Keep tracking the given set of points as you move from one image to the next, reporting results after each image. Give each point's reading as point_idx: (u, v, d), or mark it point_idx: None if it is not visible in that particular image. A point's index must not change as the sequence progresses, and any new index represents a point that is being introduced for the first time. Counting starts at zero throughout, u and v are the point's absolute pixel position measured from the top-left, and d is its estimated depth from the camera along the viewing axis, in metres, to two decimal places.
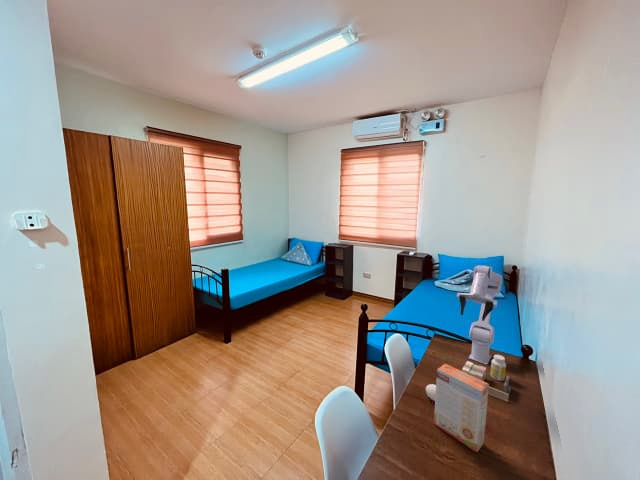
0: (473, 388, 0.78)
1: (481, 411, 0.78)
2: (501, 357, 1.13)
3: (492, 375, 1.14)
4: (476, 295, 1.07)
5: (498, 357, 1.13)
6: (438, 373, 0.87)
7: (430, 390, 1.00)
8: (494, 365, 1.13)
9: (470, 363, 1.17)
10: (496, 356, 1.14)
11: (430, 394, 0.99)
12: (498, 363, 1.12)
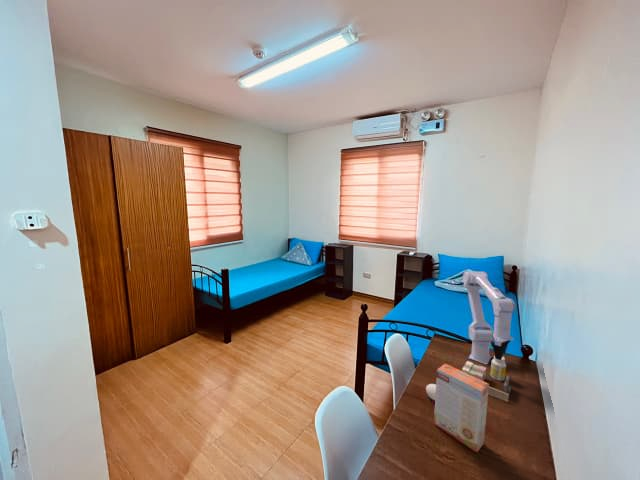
0: (473, 388, 0.78)
1: (481, 411, 0.78)
2: None
3: (492, 375, 1.14)
4: None
5: None
6: (438, 373, 0.87)
7: (430, 390, 1.00)
8: (494, 365, 1.13)
9: (470, 363, 1.17)
10: None
11: (430, 394, 1.00)
12: (498, 363, 1.12)
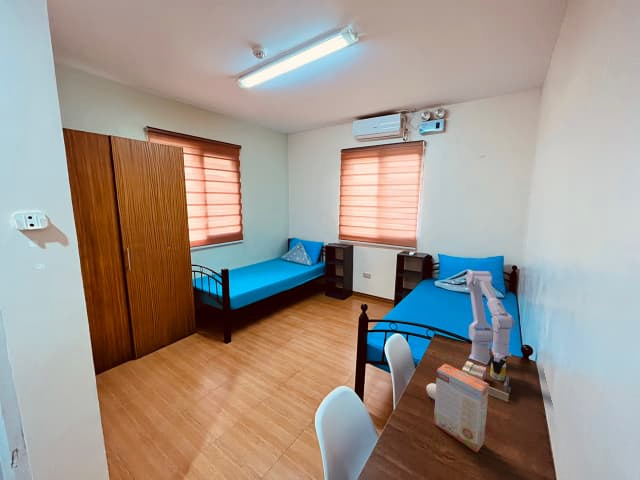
0: (473, 388, 0.78)
1: (481, 411, 0.78)
2: None
3: (492, 375, 1.14)
4: None
5: None
6: (438, 373, 0.87)
7: (430, 389, 1.00)
8: None
9: (470, 363, 1.17)
10: None
11: (431, 393, 1.00)
12: None
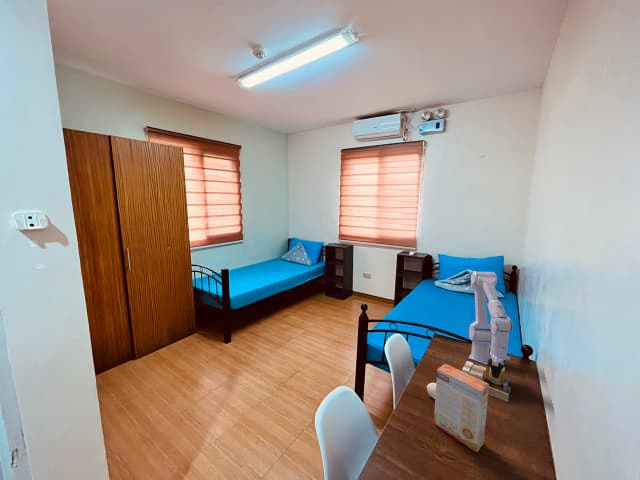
0: (473, 388, 0.78)
1: (481, 411, 0.78)
2: None
3: (491, 379, 1.11)
4: None
5: None
6: (438, 373, 0.87)
7: (431, 389, 1.01)
8: None
9: (470, 363, 1.17)
10: None
11: (431, 392, 1.00)
12: None
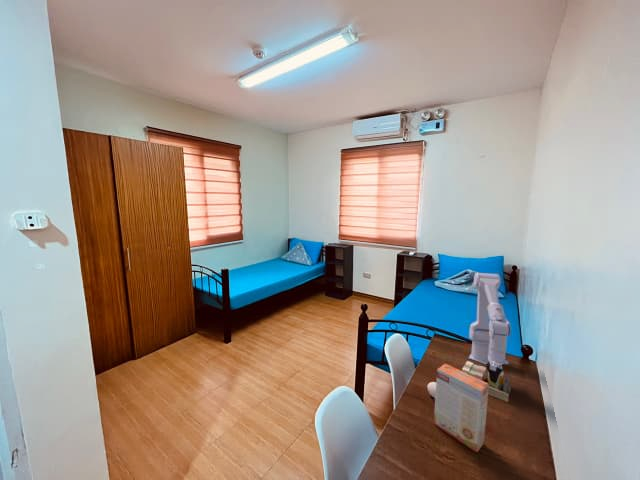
0: (473, 388, 0.78)
1: (481, 411, 0.78)
2: None
3: (489, 384, 1.08)
4: None
5: None
6: (438, 373, 0.87)
7: (431, 388, 1.01)
8: None
9: (470, 363, 1.17)
10: None
11: (432, 392, 1.01)
12: None
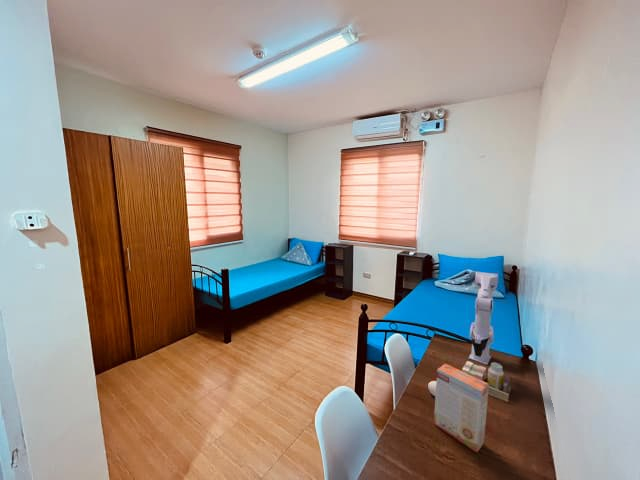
0: (473, 388, 0.78)
1: (481, 411, 0.78)
2: (498, 365, 1.08)
3: (489, 384, 1.08)
4: None
5: (495, 365, 1.07)
6: (438, 373, 0.87)
7: (432, 387, 1.02)
8: (491, 374, 1.07)
9: (470, 363, 1.17)
10: (493, 364, 1.08)
11: (432, 390, 1.01)
12: (496, 372, 1.06)
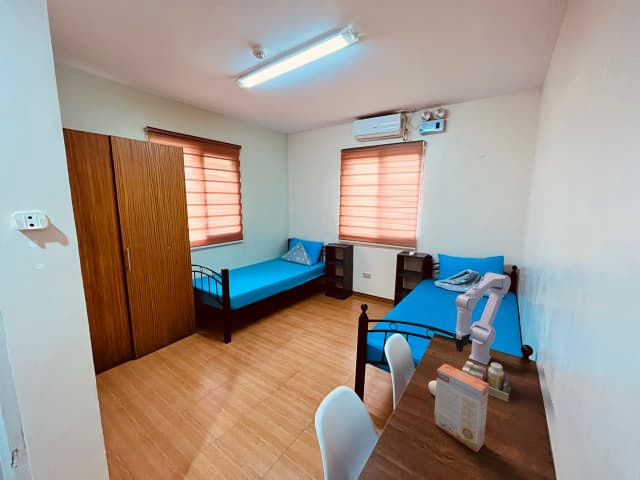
0: (473, 388, 0.78)
1: (481, 411, 0.78)
2: (498, 365, 1.08)
3: (489, 384, 1.08)
4: None
5: (495, 365, 1.07)
6: (438, 373, 0.87)
7: (432, 386, 1.02)
8: (491, 374, 1.07)
9: (470, 363, 1.17)
10: (493, 364, 1.08)
11: (433, 390, 1.02)
12: (496, 372, 1.06)
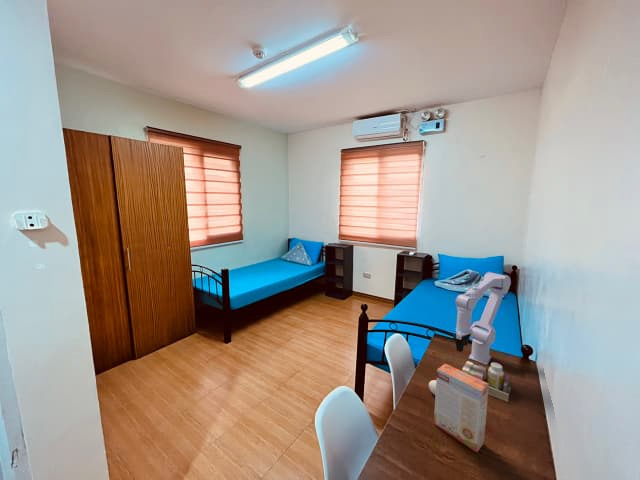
0: (473, 388, 0.78)
1: (481, 411, 0.78)
2: (498, 365, 1.08)
3: (489, 384, 1.08)
4: None
5: (495, 365, 1.07)
6: (438, 373, 0.87)
7: (433, 386, 1.02)
8: (491, 374, 1.07)
9: (470, 363, 1.17)
10: (493, 364, 1.08)
11: (433, 390, 1.02)
12: (496, 372, 1.06)
